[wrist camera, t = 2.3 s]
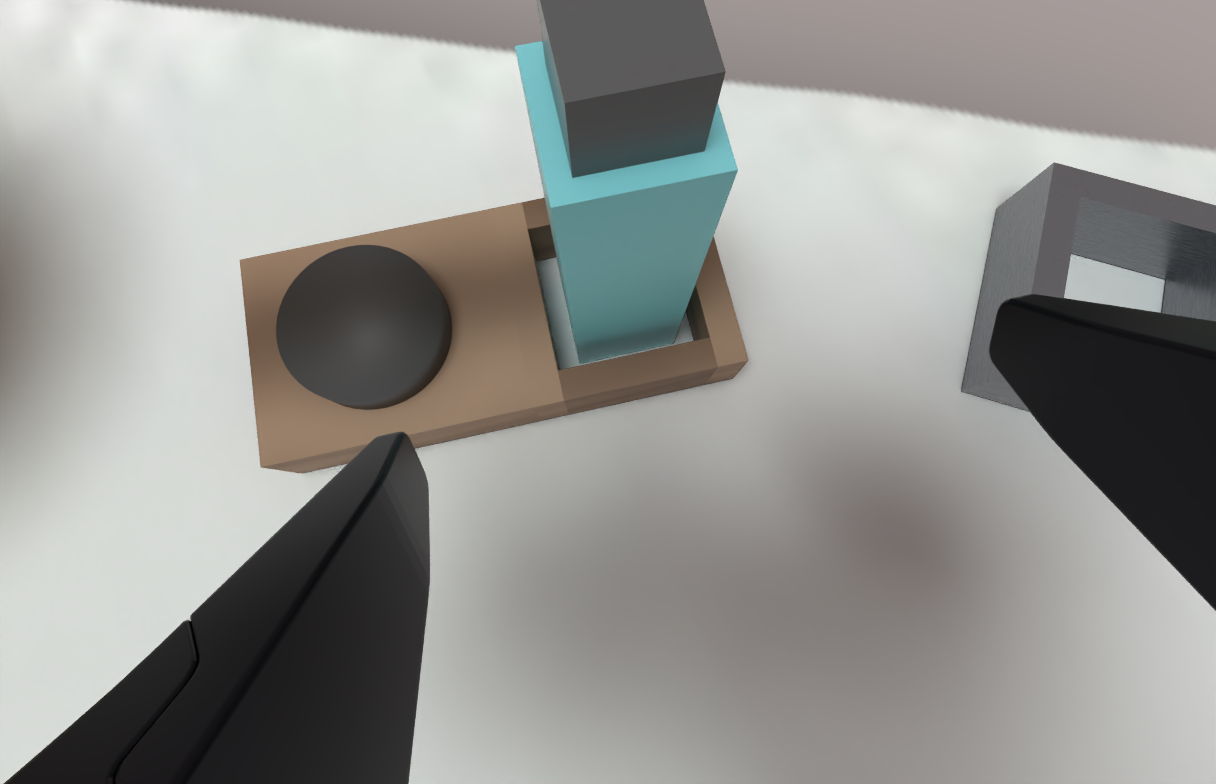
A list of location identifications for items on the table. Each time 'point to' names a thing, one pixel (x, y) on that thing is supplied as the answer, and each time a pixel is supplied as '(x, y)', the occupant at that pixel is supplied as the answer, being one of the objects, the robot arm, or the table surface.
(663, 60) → the plug
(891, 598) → the table surface
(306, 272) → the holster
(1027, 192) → the port block
